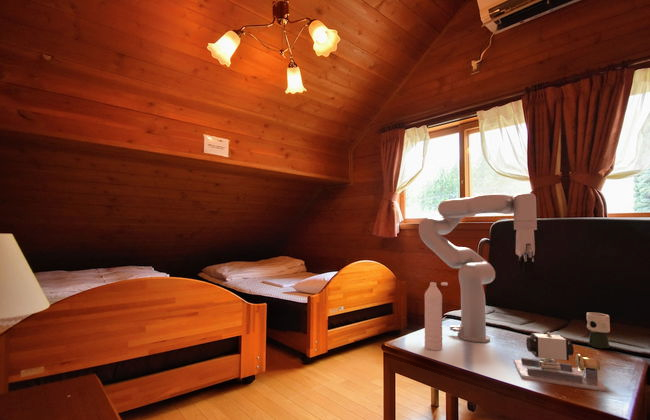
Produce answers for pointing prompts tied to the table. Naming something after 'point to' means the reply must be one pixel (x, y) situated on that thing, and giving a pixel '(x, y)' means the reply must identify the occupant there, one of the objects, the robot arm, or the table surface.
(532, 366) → the manifold plate
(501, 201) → the robot arm
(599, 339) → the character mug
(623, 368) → the table surface
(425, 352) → the table surface
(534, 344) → the pneumatic valve
